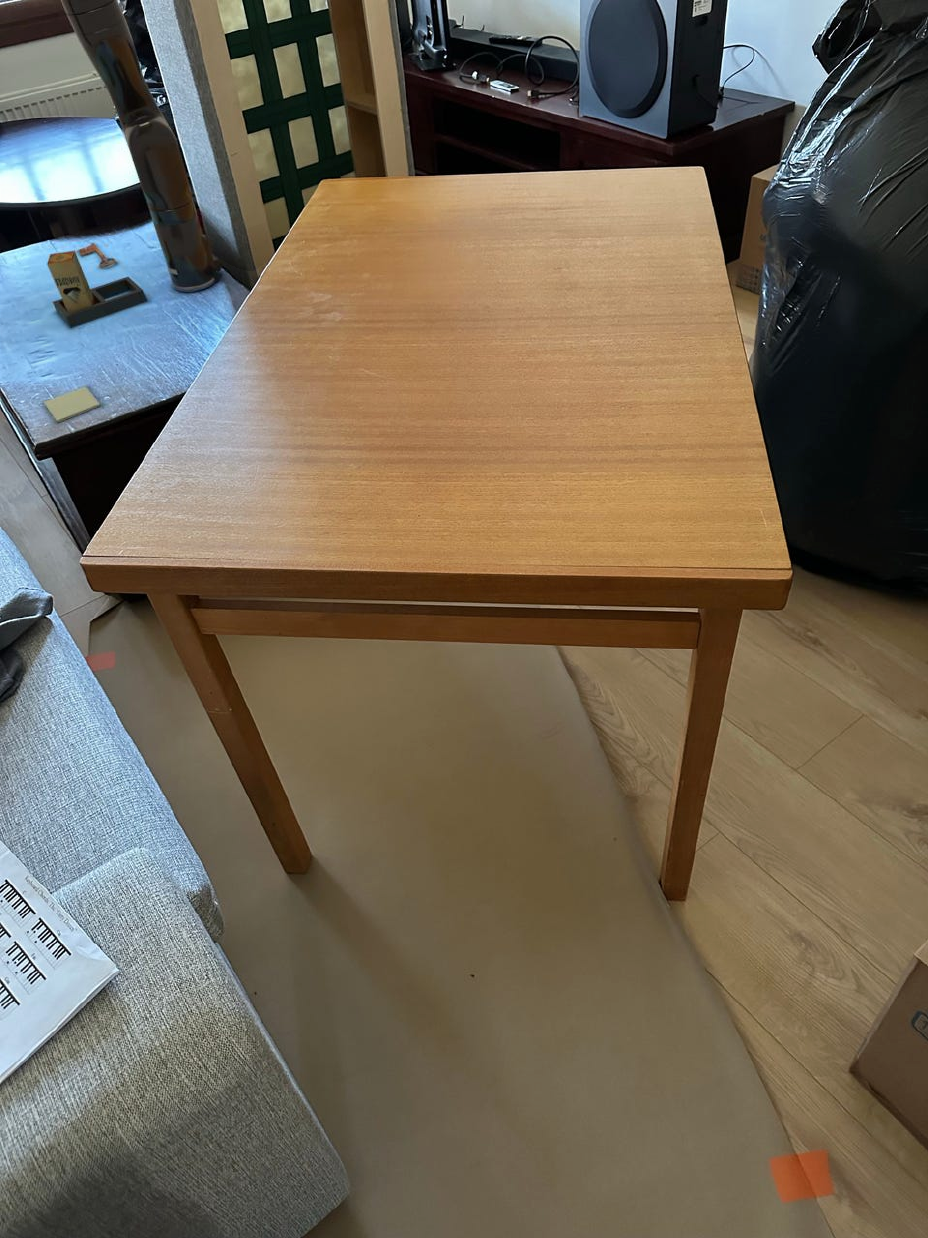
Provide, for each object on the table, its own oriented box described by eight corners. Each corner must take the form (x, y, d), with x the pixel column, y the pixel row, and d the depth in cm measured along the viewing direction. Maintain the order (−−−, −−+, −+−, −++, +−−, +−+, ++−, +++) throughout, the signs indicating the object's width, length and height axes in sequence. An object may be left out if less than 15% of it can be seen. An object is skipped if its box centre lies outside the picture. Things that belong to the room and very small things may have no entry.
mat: (86, 388, 158) (85, 386, 158) (100, 406, 154) (99, 403, 153) (44, 404, 155) (43, 401, 155) (57, 422, 151) (56, 420, 150)
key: (78, 251, 203) (94, 272, 194) (76, 248, 202) (92, 268, 193) (101, 243, 205) (118, 263, 195) (99, 239, 204) (116, 259, 195)
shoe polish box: (95, 316, 178) (72, 260, 170) (71, 320, 178) (47, 264, 169) (97, 305, 182) (74, 250, 173) (73, 309, 181) (50, 254, 173)
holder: (132, 287, 187) (128, 276, 185) (147, 300, 182) (143, 289, 180) (57, 312, 181) (52, 301, 179) (70, 327, 176) (65, 316, 174)
